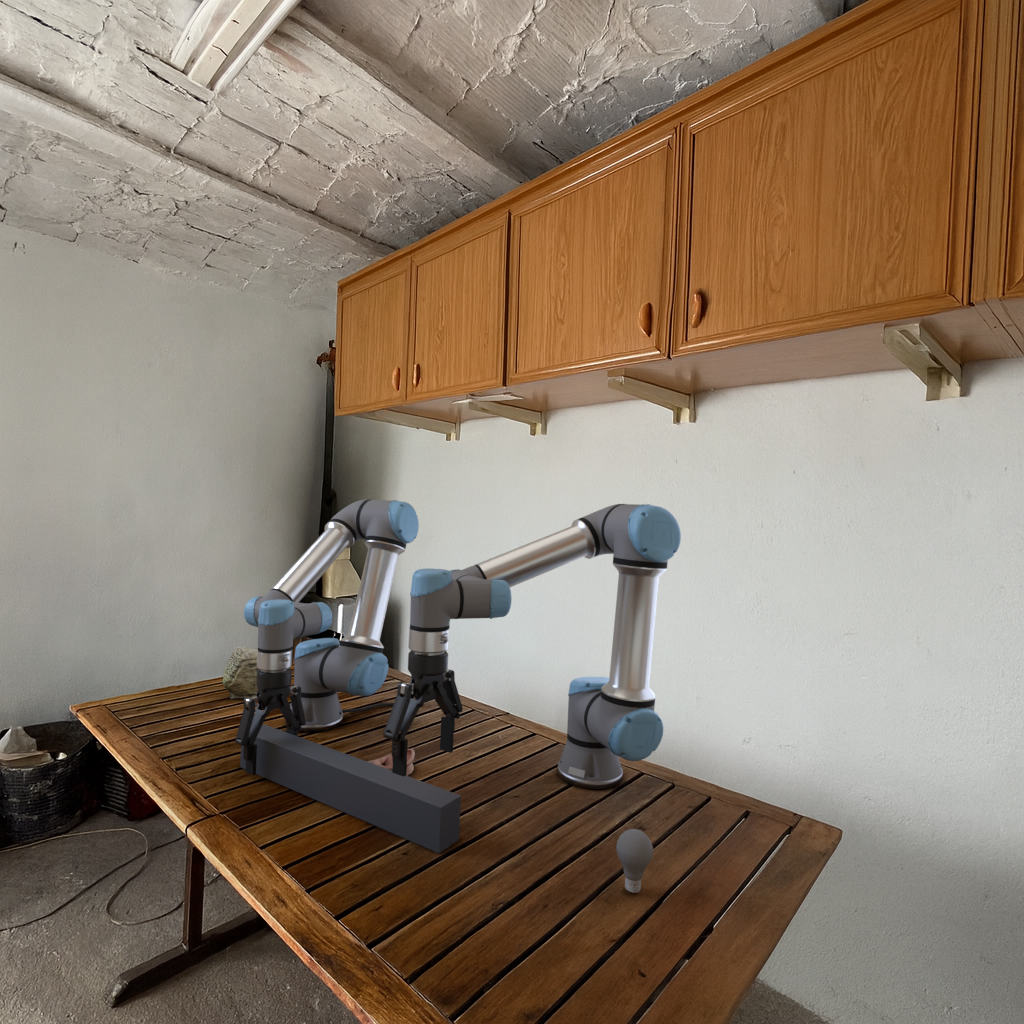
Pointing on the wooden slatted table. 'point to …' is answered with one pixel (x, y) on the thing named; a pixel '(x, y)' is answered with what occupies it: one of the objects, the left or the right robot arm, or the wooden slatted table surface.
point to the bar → (359, 788)
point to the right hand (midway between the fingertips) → (423, 762)
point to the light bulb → (634, 857)
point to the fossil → (241, 673)
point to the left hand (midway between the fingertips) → (270, 765)
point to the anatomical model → (388, 761)
